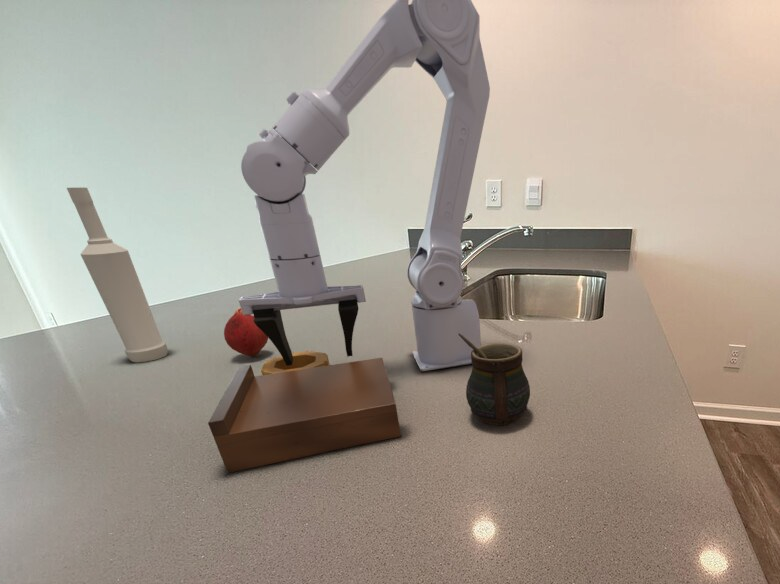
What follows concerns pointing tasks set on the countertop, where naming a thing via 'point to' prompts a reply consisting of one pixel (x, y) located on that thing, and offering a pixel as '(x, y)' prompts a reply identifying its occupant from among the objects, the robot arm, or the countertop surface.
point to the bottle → (118, 285)
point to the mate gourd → (497, 383)
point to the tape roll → (296, 362)
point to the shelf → (303, 413)
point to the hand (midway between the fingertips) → (320, 358)
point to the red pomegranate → (244, 334)
